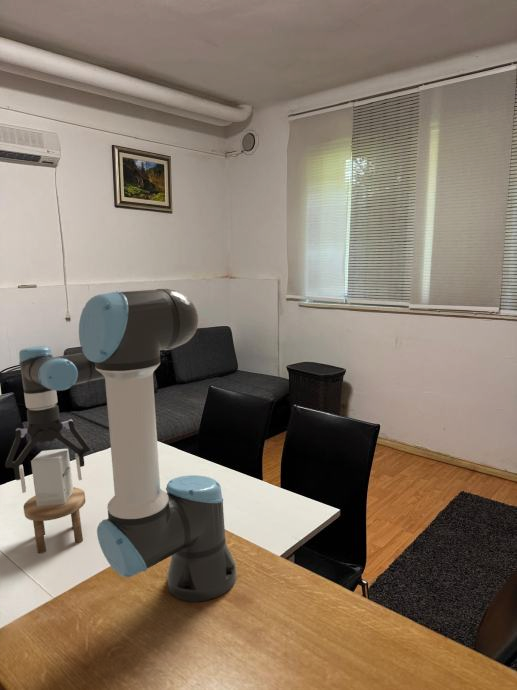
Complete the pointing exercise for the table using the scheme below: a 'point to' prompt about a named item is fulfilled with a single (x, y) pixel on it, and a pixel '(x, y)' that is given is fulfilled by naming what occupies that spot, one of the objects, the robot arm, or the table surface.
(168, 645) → the table surface
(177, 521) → the robot arm
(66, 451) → the supplement box
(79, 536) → the stool
